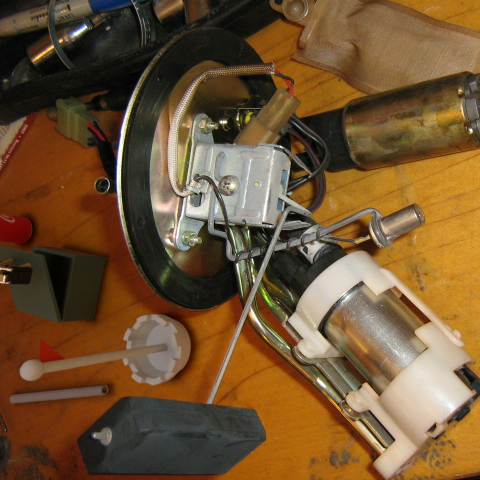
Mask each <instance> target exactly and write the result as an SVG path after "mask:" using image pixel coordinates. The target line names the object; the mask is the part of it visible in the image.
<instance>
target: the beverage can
mask: <svg viewBox="0 0 480 480" xmlns="http://www.w3.org/2000/svg"><path fill="white" fill-rule="evenodd" d="M32 234H33V224H32V222H31V220H30V219H29V218H27V217H24V216H17V215H11V214H3V213H0V242H1V243H11V244H12V243H13V244H25V243H27V242H28V241H29V239H30V238H31V236H32Z"/></svg>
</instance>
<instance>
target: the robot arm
mask: <svg viewBox="0 0 480 480" xmlns="http://www.w3.org/2000/svg"><path fill="white" fill-rule="evenodd" d="M1 262H3V261H1V260H0V263H1ZM5 267H8V265H6V266H4V267H0V271H4V272H3V274H0V284H5V285H6V284H7V285H8V284H30V281H31V276H32V271H33V269H32V268H31V267H14V266H10V268H5Z"/></svg>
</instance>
